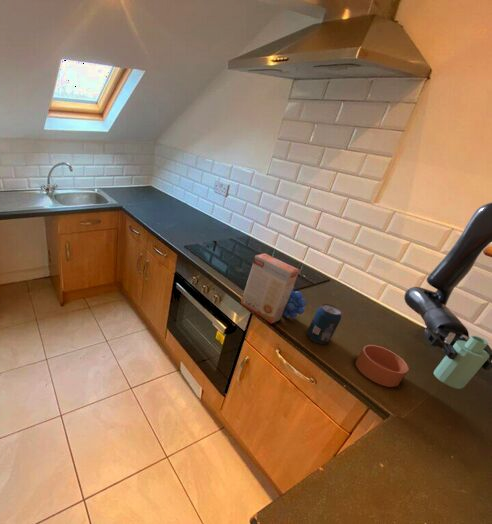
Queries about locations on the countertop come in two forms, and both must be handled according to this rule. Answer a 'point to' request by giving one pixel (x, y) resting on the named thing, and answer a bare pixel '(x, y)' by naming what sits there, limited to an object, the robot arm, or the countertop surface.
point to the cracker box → (269, 287)
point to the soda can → (324, 323)
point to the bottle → (462, 362)
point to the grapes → (294, 304)
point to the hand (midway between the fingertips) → (471, 361)
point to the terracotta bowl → (381, 365)
